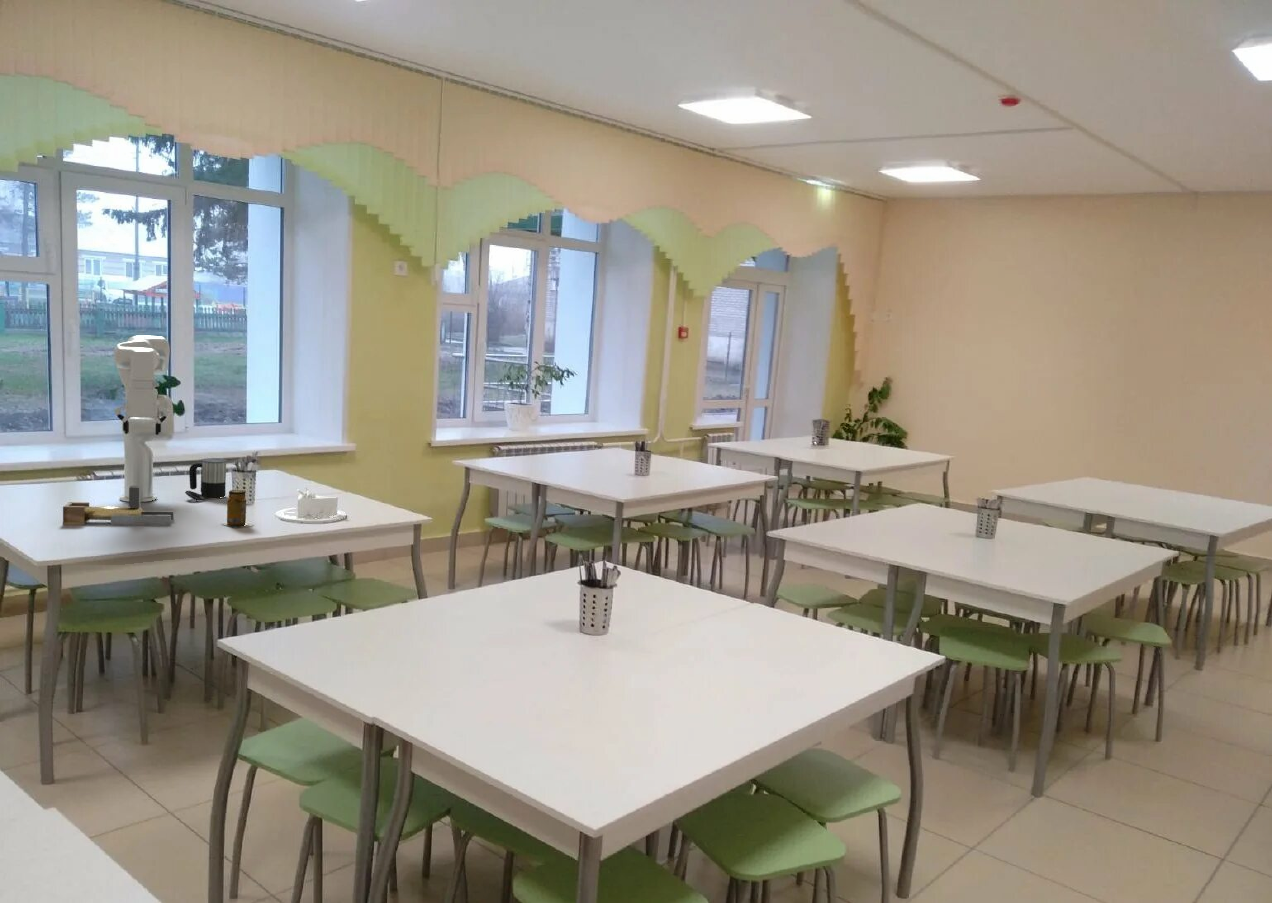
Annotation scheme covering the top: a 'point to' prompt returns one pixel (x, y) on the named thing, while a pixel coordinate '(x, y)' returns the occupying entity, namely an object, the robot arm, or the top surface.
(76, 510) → the socket
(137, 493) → the bolt
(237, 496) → the condiment
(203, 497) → the milk frother
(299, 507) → the dish
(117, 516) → the channel
